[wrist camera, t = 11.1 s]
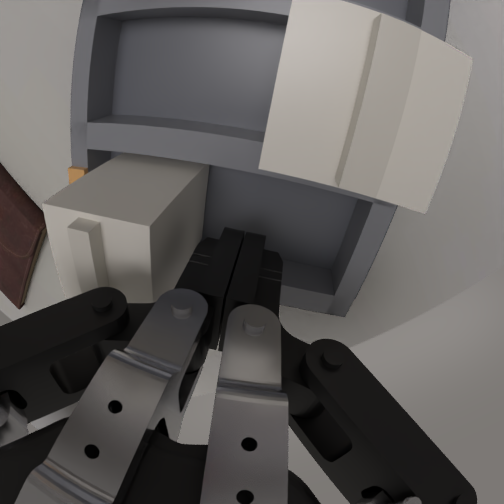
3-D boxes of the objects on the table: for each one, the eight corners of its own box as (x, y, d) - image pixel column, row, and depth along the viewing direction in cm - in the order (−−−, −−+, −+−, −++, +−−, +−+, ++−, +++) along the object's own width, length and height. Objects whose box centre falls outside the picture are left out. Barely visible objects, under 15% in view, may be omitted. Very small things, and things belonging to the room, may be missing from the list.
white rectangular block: (392, 63, 9) (487, 58, 3) (369, 151, 11) (434, 226, 5) (294, 34, 9) (294, -20, 3) (275, 126, 11) (254, 177, 5)
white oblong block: (210, 160, 12) (139, 238, 7) (201, 238, 14) (149, 341, 9) (129, 149, 12) (30, 212, 7) (130, 222, 14) (57, 307, 9)
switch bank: (443, -41, 5) (474, -60, 2) (352, 285, 17) (360, 329, 14) (132, -80, 6) (99, -100, 3) (99, 229, 17) (68, 260, 14)
